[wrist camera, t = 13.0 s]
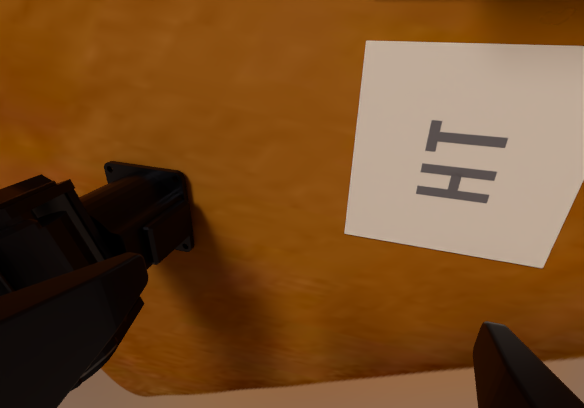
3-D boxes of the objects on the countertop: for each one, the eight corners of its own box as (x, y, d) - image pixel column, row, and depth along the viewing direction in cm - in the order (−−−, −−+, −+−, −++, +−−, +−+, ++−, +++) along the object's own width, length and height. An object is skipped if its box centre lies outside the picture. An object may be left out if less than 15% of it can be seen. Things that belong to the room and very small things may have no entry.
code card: (344, 232, 21) (344, 233, 21) (366, 40, 16) (366, 40, 16) (541, 267, 18) (542, 268, 18) (643, 47, 13) (645, 47, 13)
